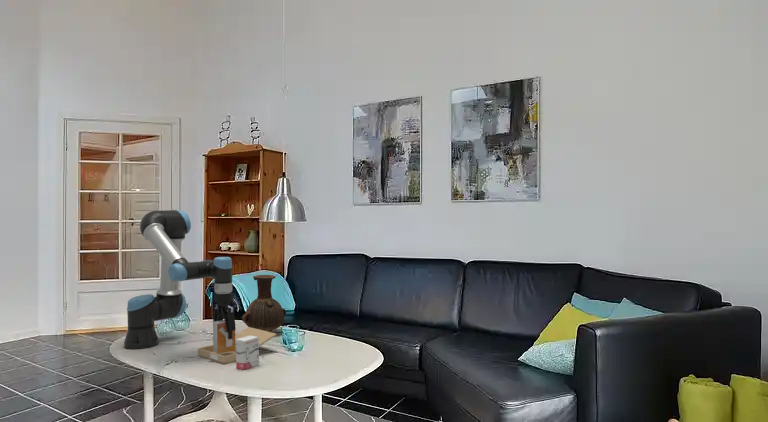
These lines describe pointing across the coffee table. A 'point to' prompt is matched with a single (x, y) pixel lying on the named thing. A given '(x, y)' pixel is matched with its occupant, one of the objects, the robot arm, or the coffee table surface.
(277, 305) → the vase
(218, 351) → the small box
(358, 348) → the coffee table surface
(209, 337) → the coffee table surface
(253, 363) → the ink box
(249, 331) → the lid
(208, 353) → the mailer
